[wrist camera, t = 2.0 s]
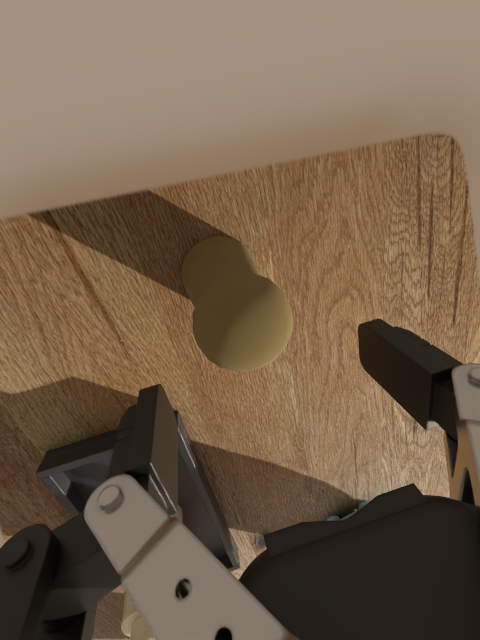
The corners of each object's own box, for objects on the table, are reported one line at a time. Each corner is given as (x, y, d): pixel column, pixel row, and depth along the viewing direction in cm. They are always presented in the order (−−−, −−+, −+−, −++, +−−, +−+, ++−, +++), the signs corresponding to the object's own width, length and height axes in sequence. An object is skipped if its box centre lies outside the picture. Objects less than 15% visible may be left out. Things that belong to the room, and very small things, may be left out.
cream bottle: (124, 523, 32) (93, 731, 20) (154, 494, 31) (139, 694, 19) (163, 535, 34) (156, 730, 22) (192, 508, 34) (201, 697, 21)
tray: (46, 451, 27) (35, 473, 25) (177, 410, 28) (177, 427, 26) (145, 581, 39) (144, 603, 37) (237, 548, 40) (240, 567, 38)
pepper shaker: (245, 314, 26) (288, 395, 16) (174, 302, 24) (174, 384, 14) (265, 245, 23) (329, 289, 14) (189, 227, 22) (200, 261, 12)
